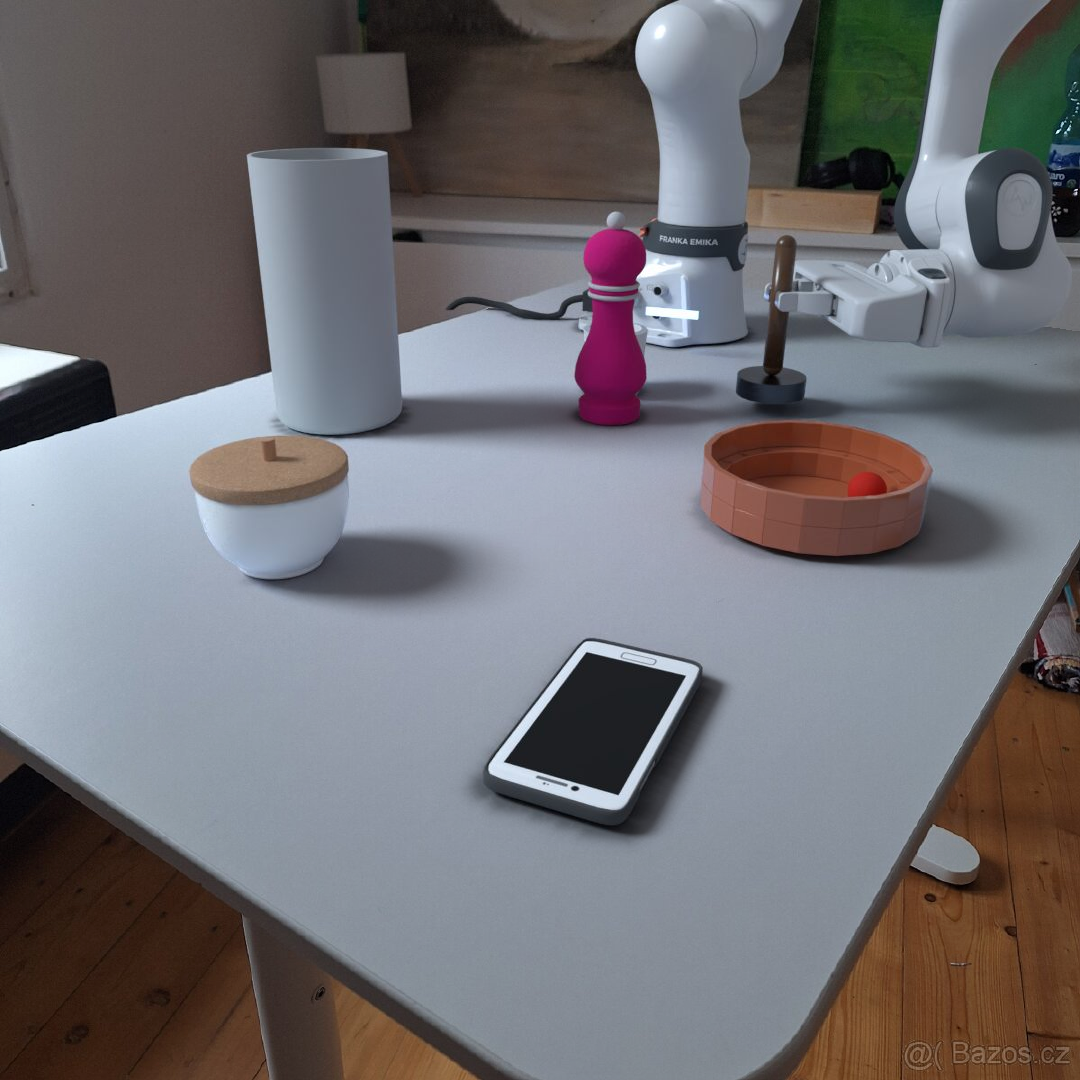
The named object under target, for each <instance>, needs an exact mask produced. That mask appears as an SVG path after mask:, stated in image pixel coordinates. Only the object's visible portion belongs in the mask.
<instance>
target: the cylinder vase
mask: <svg viewBox="0 0 1080 1080" xmlns="http://www.w3.org/2000/svg"><path fill="white" fill-rule="evenodd" d="M246 161H247V168H248V176H249V186H250V196H251V203H252V212H253V213H252V214H253V222H254V228H255V230H254V231H255V237H256V246H257V256H258V264H259V272H260V281H261V289H262V298H263V299H262V300H263V308H264V317H265V324H266V333H267V334H266V335H267V342H268V351H269V359H270V369H271V376H272V377H271V378H272V384H273V385H272V386H273V395H274V402H275V412H276V416H277V418H278V420H279V421H280V422H281V423H282V424H283V425H284V426H286V427H287V428H289V429H290V430H295V431H297V432H301V433H306V434H311V435H312V434H313V435H326V436H331V435H333V436H335V435H338V436H339V435H351V434H358V433H363V432H368V431H372V430H375V429H379V428H382V427H384V426H387V425H388V424H390V423H392V422H394V421H395V420H396V419H397V418H398V417H399V416H400V414H401V412H402V409H403V395H402V394H403V393H402V379H401V378H402V376H401V362H400V361H401V360H400V346H399V345H400V344H399V326H398V309H397V308H398V307H397V293H396V275H395V260H394V242H393V241H394V240H393V226H392V225H393V224H392V207H391V205H392V204H391V190H390V189H391V188H390V175H389V171H390V170H389V157H388V152H387V151H384V150H377V149H369V148H350V147H348V148H347V147H308V148H306V147H305V148H284V149H283V148H282V149H272V150H262V151H255V152H254V151H253V152H250V153H247V154H246Z"/></svg>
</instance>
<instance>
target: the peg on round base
mask: <svg viewBox="0 0 1080 1080" xmlns="http://www.w3.org/2000/svg"><path fill="white" fill-rule="evenodd" d="M797 247H798V242H797V240H796V238H795V237H794V236H792V235H790V234H784V235H782V236H780V237H779V238H778V239H777V240H776V243H775V247H774V248H775V249H774V258H773V268H772V276H771V283H772V285H771V295H770V302H769V306H768V314H767V315H768V316H767V323H766V324H767V325H766V331H765V332H766V334H765V343H764V350H763V351H764V352H763V362H762V365H755V366H748V367H744V368H742V369H740V370H738V371H737V373H736V384H735V394H736V395H737V396H738V397H740V398H741V399H744V400H747V401H748V402H754V403H758V404H764V405H765V404H766V405H790V404H793V403H798V402H801V401H803V400H804V399H805V394H806V387H807V385H806V384H807V380H808V379H807V376H806V375H805V373H802V372H801V371H799V370H796V369H792V368H789V367H784V359H785V350H786V343H787V336H788V335H787V334H788V325H789V317H790V312H782V311H780V310H779V309H778V308H777V307H775V300H776V298H775V296H776V293H777V292H778V291H780V290H785V291H786V290H792V283H793V275H794V266H795V261H796V258H797V257H796V255H797Z"/></svg>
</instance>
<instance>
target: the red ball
mask: <svg viewBox="0 0 1080 1080" xmlns="http://www.w3.org/2000/svg"><path fill="white" fill-rule="evenodd" d="M847 492H848V497H858V496H875V495H881V494H885V493H887V486H886V483H885V481H884V480H883V478H882V477H880V476H879V475H878V474H876V473H873V472H862V473H859V474H857V475H856V476H854V477H853V478H852V480H851V481H850V483H849V485H848V490H847Z"/></svg>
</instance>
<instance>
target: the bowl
mask: <svg viewBox="0 0 1080 1080" xmlns="http://www.w3.org/2000/svg"><path fill="white" fill-rule="evenodd" d="M933 471H934V470H933V467H932V466H931V464H930V462H929V460H928V458H927V456H926V455H924V454H923V453H921V452H920V451H919V450H917V449H916V448H914V447H913V446H912V445H910V444H908V443H906V442H904V441H902V440H899V439H897V438H894V437H892V436H890V435H887V434H884V433H880V432H877V431H873V430H870V429H866V428H862V427H858V426H854V425H846V424H840V423H833V422H828V421H817V420H800V419H799V420H797V419H784V420H763V421H762V420H761V421H755V422H750V423H745V424H740V425H735V426H734V425H733V426H732V427H729V428H727V429H723V430H721V431H718V432H717V433H715V434H714V435H712V436H711V437H710V438H709V439H708V440H707V441H706V442H705V443H704V447H703V458H702V471H701V483H700V498H699V499H700V500H699V507H700V508H701V510H702V511H703V513H704V514H705V516H706V517H707V518H708V519H709V521H710V522H712V523H713V524H715V525H717V526H718V527H720V528H721V529H723V530H724V531H726V532H727V533H729V534H730V535H733V536H735V537H738V538H742V539H743V540H746V541H749V542H752V543H754V544H757V545H760V546H762V547H768V548H771V549H776V550H781V551H786V552H789V553H790V552H791V553H796V554H803V555H815V556H831V557H832V556H833V557H843V556H854V555H856V556H857V555H869V554H875V553H880V552H883V551H884V552H885V551H887V550H890V549H895V548H899V547H901V546H903V545H904V544H906V543H908V542H909V541H910V540H912V539H913V538H915V537H917V536H918V535H919V533H920V530H921V528H922V525H923V523H924V519H925V514H926V509H927V503H928V497H929V493H930V487H931V481H932V477H933ZM862 472H873V473H876V474H878V475H879V476H880V477H882V478H883V480H884V481H885V483H886V486H887V493H885V494H881V495H875V496H858V497H848V492H847V490H848V485H849V483H850V481H851V480H852V478H853V477H854V476H856V475H857V474H859V473H862Z"/></svg>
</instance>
